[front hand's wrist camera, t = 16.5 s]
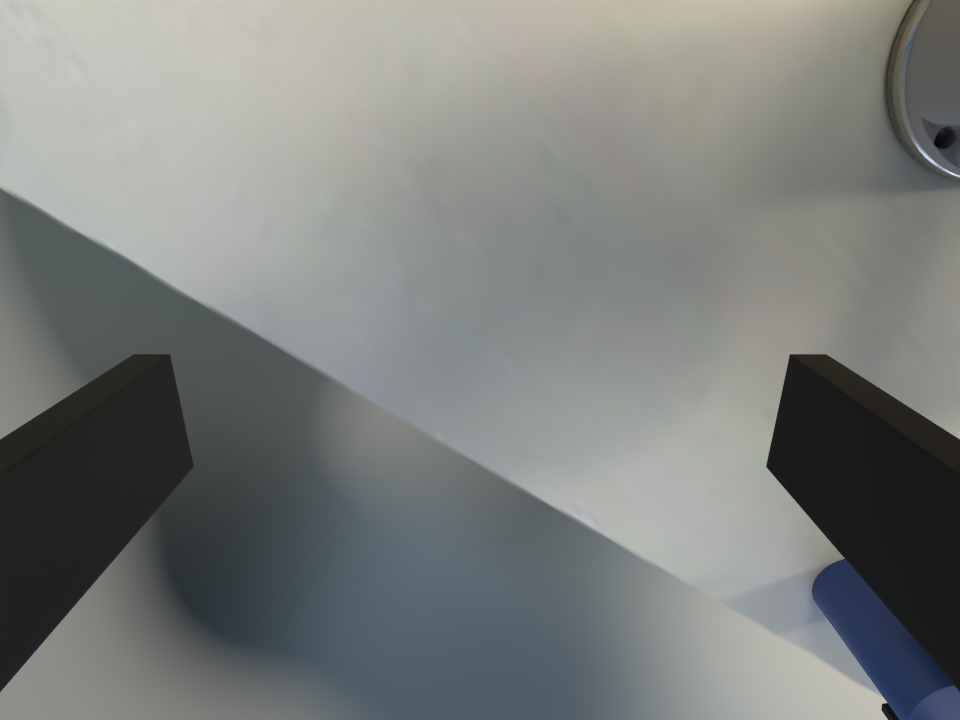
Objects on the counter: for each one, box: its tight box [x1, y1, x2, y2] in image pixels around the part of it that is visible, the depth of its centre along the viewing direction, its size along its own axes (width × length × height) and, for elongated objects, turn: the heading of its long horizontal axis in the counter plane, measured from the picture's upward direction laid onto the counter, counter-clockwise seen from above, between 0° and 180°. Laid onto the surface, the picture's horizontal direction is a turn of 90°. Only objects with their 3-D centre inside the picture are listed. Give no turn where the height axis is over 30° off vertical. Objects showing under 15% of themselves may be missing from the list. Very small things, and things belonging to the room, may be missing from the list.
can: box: [813, 559, 960, 720], centre depth 48 cm, size 6×6×13 cm
